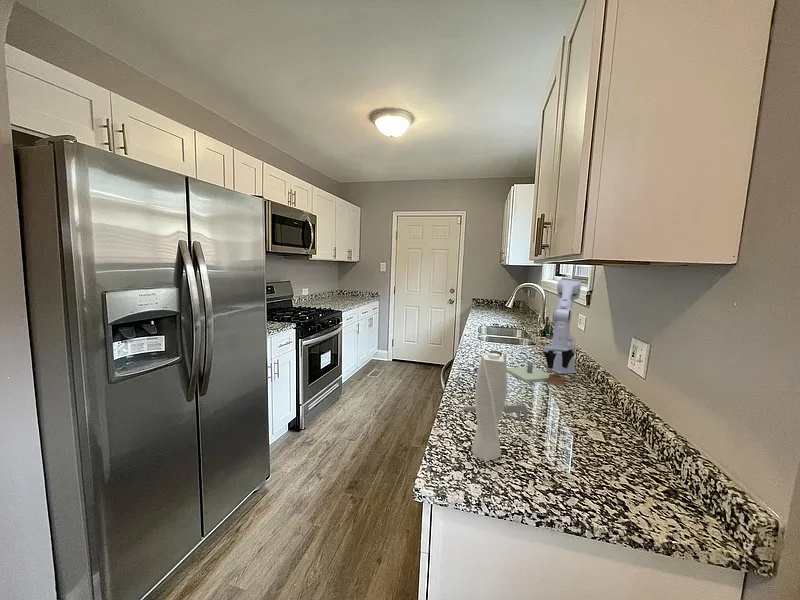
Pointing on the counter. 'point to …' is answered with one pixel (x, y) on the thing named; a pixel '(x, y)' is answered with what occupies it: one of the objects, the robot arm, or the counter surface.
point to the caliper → (507, 409)
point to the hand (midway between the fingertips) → (557, 367)
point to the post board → (529, 373)
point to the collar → (556, 379)
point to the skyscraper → (489, 405)
